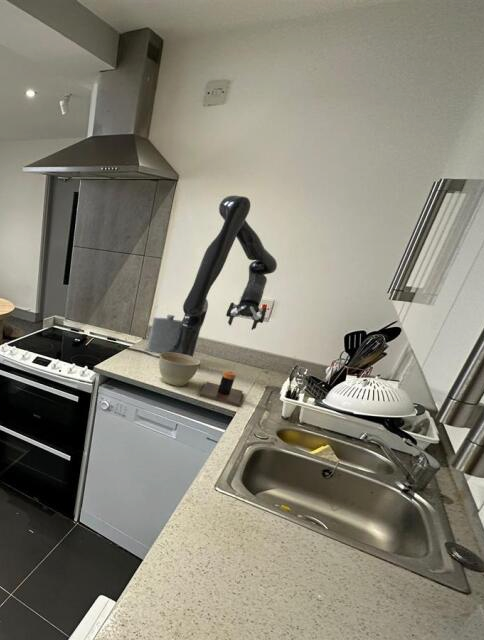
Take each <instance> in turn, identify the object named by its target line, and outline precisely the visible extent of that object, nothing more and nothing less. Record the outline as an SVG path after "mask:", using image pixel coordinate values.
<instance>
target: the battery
mask: <svg viewBox="0 0 484 640" xmlns="http://www.w3.org/2000/svg"><path fill="white" fill-rule="evenodd" d="M221 376H222V377H221V380H220V383H219V385H220V386H219V389H218V392H219V393H221V394H224V395H229V394H230V391H231V388H233V385H234V382H235V379H236V376H237V373H236V372H235V371H232V370H224V371H223V372H222V375H221Z"/></svg>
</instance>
